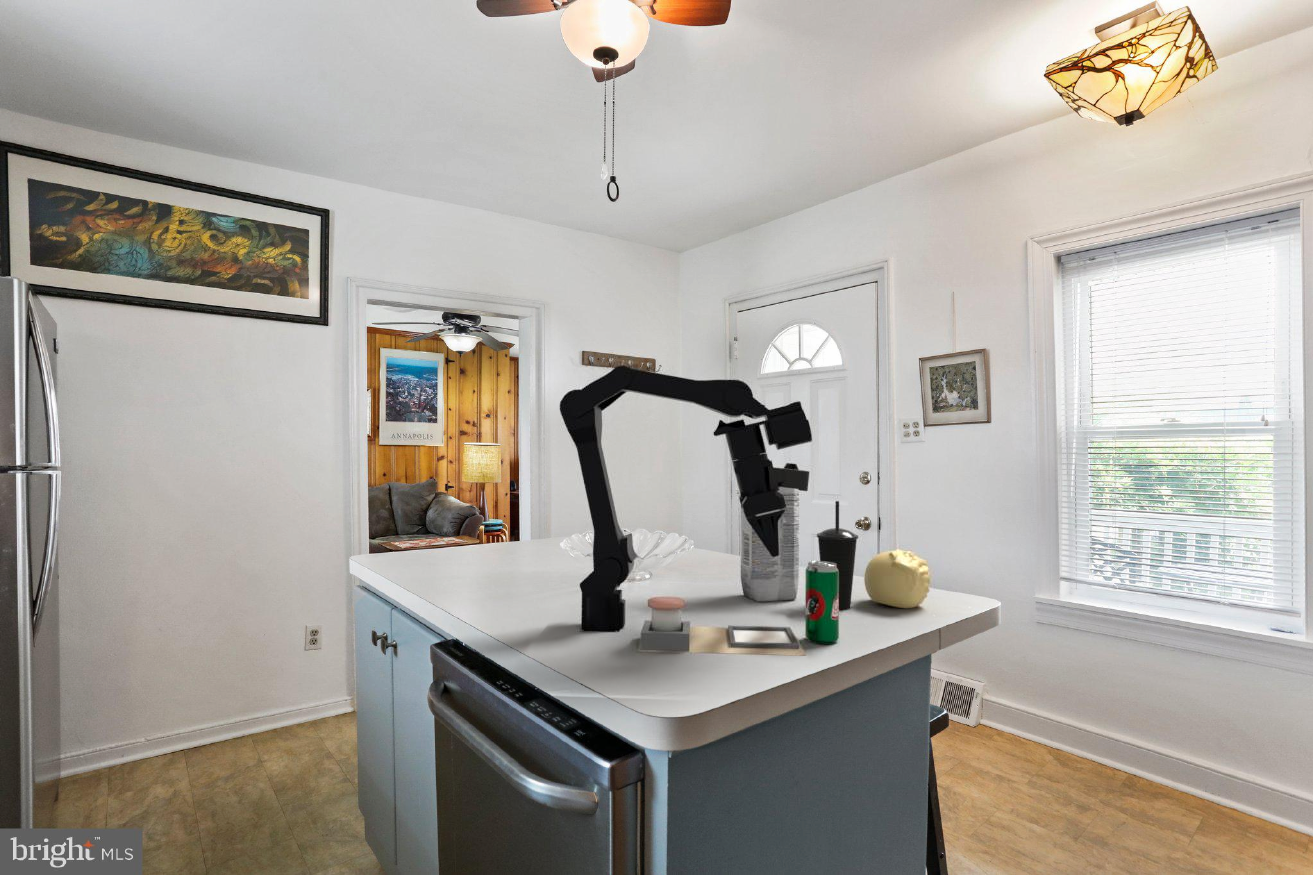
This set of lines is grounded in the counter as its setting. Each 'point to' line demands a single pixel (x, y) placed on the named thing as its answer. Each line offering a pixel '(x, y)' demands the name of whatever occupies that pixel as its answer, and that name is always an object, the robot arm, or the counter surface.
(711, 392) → the robot arm
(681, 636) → the button housing
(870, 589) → the sculpture
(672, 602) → the button
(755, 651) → the board
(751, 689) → the counter surface
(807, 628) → the soda can
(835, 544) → the drinking cup
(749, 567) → the juice carton
